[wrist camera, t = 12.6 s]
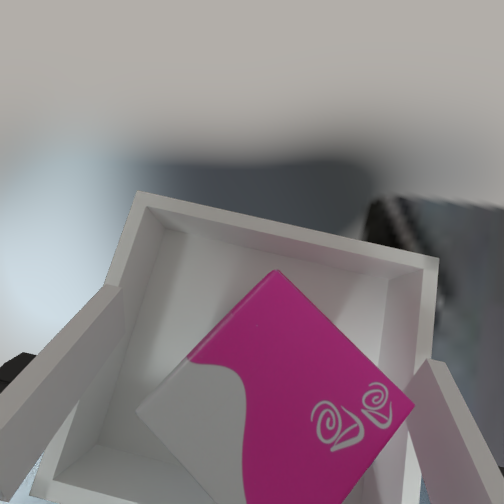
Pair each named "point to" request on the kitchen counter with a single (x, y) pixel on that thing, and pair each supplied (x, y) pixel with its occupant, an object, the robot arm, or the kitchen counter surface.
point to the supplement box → (275, 404)
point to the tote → (207, 317)
